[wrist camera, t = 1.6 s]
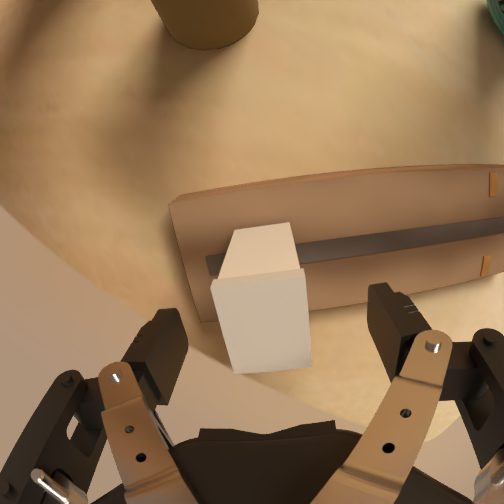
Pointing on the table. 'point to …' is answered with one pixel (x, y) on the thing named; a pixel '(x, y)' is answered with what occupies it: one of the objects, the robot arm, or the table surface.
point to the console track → (355, 229)
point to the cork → (207, 21)
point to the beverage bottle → (497, 13)
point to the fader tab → (263, 301)
